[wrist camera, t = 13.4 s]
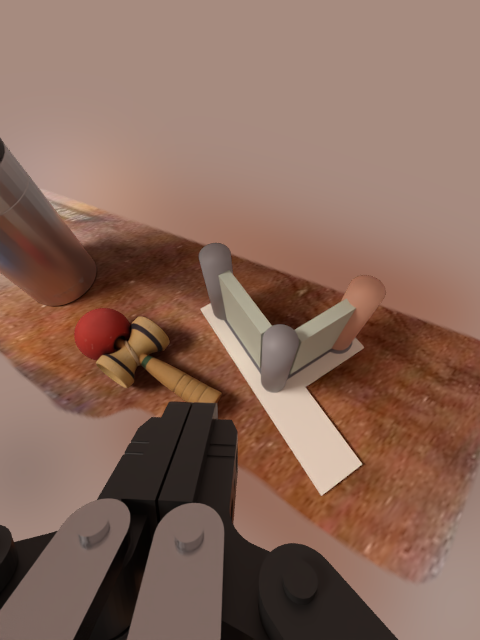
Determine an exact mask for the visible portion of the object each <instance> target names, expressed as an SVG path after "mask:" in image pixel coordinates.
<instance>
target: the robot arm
mask: <svg viewBox="0 0 480 640" xmlns="http://www.w3.org/2000/svg"><path fill="white" fill-rule="evenodd" d="M96 271H97V269H96V264H95V262H94V260H93V259H92V258H91V256H90V255H89V254H88V252H87V251H86V250H85V248H84V247H83V246H82V244H81V243H80V242H79V240H78V239H77V238H76V236H75V235H74V234H73V232H72V231H71V230H70V228H69V227H68V226H67V225H66V223H65V222H64V221H63V219H62V218H61V217H60V215H59V214H58V213H57V211H56V210H55V209H54V208H53V206H52V205H51V204H50V202H49V201H48V200H47V198H46V197H45V196H44V194H43V193H42V192H41V191H40V189H39V188H38V187H37V185H36V184H35V183H34V182H33V180H32V179H31V177H30V176H29V175H28V174H27V172H26V171H25V170H24V169H23V167H22V166H21V165H20V163H19V162H18V161H17V159H16V158H15V157H14V155H13V154H12V153H11V152H10V150H9V149H8V148H7V147H6V145H5V144H4V142H3V141H2V140H1V138H0V273H1V274H3V275H4V276H5V277H7V278H8V279H9V280H10V281H12V282H13V283H14V284H15V285H17V286H18V287H19V288H20V289H22V290H23V291H24V292H26V293H27V294H28V295H29V296H31V297H32V298H33V299H35V300H36V301H37V302H39V303H41V304H43V305H48V306H59V305H64V304H67V303H70V302H72V301H74V300H76V299H78V298H79V297H81V296H82V295H83V294H84V293H86V291H87V290H88V289H89V288H90V287H91V285H92V284H93V282H94V280H95V277H96ZM237 473H238V448H237V430H236V428H235V425H234V423H233V421H232V420H220V419H218V406H217V403H204V402H194V403H193V402H169V403H168V405H167V407H166V409H165V411H164V413H163V415H162V417H161V418H160V417H151V418H150V419H149V420H148V421H146V422H145V423H144V424H143V425H142V426H140V427H139V428H138V430H137V432H136V434H135V435H134V437H133V439H132V440H131V443H130V444H129V445H128V447H127V449H126V451H125V454H124V455H123V456H122V458H121V459H120V461H119V463H118V464H117V466H116V468H115V470H114V471H113V473H112V475H111V476H110V478H109V480H108V482H107V483H106V485H105V487H104V489H103V490H102V493H101V494H100V495H99V497H98V499H97V500H96V501H93V502H90V503H88V504H86V505H84V506H83V507H81V508H79V509H78V510H76V511H75V512H74V513H73V514H72V515H70V517H69V518H68V519H67V520H66V521H65V522H64V523H63V525H62V526H61V527H60V529H59V530H58V531H55V532H52V533H49V534H45V535H41V536H37V537H33V538H29V539H25V540H21V541H17V542H14V541H13V538H12V535H11V532H10V531H9V529H7V528H6V527H5V526H2V525H0V640H398V639H397V638H396V637H395V636H394V634H392V633H391V631H390V630H389V629H388V628H387V627H386V626H385V625H384V623H383V622H382V621H381V620H380V619H379V618H378V617H377V616H376V614H374V612H373V611H372V610H371V609H370V608H369V607H368V606H367V604H366V603H365V602H364V601H363V600H362V599H361V598H360V597H359V595H358V594H357V593H356V592H355V591H354V590H353V589H352V588H351V587H350V585H349V584H348V583H347V582H346V581H345V580H344V579H343V578H342V577H341V575H340V574H339V573H338V572H337V571H336V570H335V569H334V568H333V567H332V565H331V564H330V563H329V562H328V561H327V560H326V559H325V558H324V557H323V556H322V555H321V554H320V553H318V552H317V551H315V550H314V549H312V548H310V547H308V546H305V545H302V544H295V543H290V544H284V545H281V546H279V547H277V548H275V549H274V550H272V551H271V552H269V551H267V550H265V549H262V548H260V547H258V546H256V545H254V544H251V543H250V542H248V541H247V540H245V539H244V538H243V537H242V536H241V535H240V534H239V533H238V532H237V530H236V529H235V527H234V525H233V520H234V508H235V497H236V484H237Z"/></svg>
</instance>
